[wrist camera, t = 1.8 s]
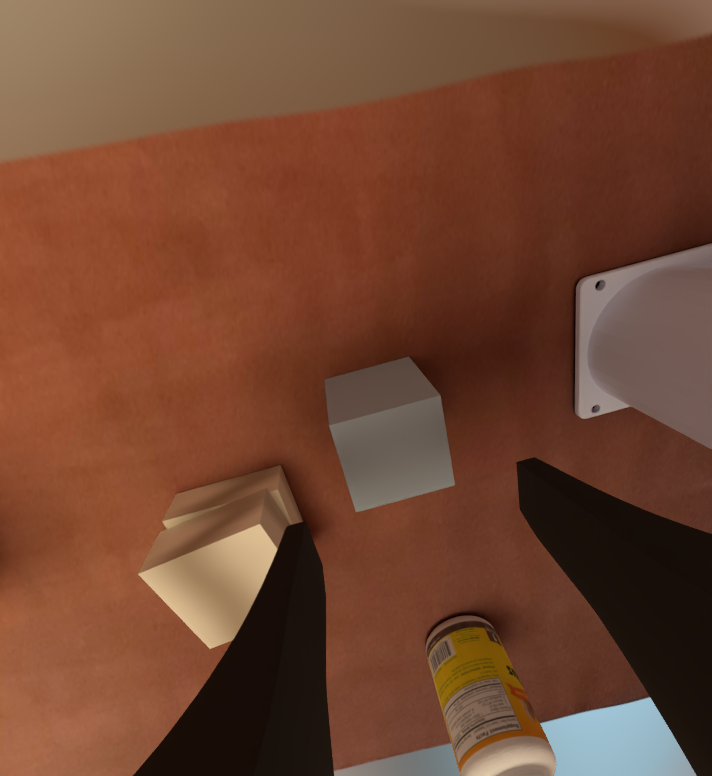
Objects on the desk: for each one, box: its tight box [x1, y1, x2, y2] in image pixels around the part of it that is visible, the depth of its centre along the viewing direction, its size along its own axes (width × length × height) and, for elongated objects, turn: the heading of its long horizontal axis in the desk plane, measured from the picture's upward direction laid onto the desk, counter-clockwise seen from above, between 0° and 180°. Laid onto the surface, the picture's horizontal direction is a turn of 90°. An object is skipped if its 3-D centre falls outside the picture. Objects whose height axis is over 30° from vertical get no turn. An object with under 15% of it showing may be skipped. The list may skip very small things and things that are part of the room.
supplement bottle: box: [426, 615, 556, 776], centre depth 23 cm, size 6×6×10 cm
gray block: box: [324, 357, 455, 512], centre depth 17 cm, size 4×4×5 cm
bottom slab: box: [162, 465, 303, 529], centre depth 21 cm, size 6×6×2 cm
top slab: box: [138, 488, 290, 649], centre depth 19 cm, size 6×6×2 cm
